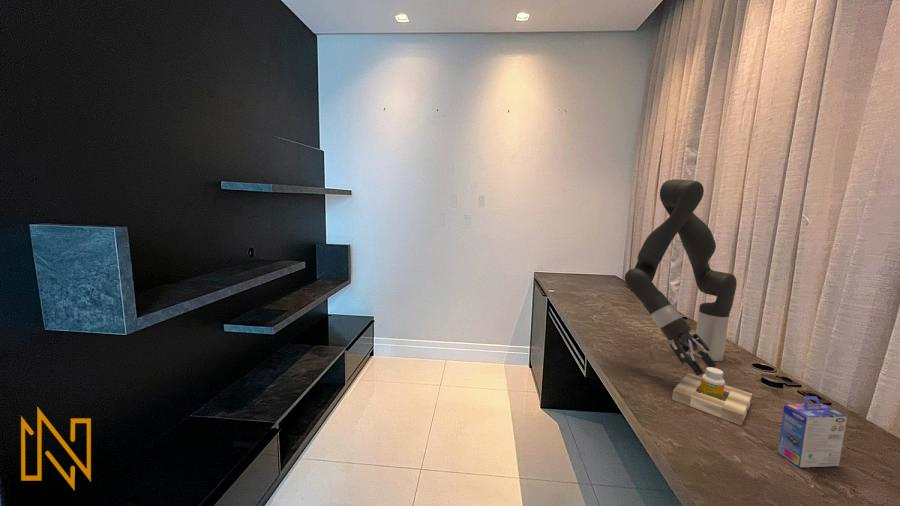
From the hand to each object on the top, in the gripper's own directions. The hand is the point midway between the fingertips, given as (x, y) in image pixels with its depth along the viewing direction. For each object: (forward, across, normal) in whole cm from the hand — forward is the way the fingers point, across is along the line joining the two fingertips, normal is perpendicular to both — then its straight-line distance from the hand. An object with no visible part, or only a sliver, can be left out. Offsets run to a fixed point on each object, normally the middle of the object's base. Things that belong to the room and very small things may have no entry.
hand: (707, 370), depth 102 cm
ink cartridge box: (+23, -9, -10) cm, 27 cm away
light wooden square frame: (+8, 0, +5) cm, 9 cm away
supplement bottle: (+8, 0, +5) cm, 9 cm away
